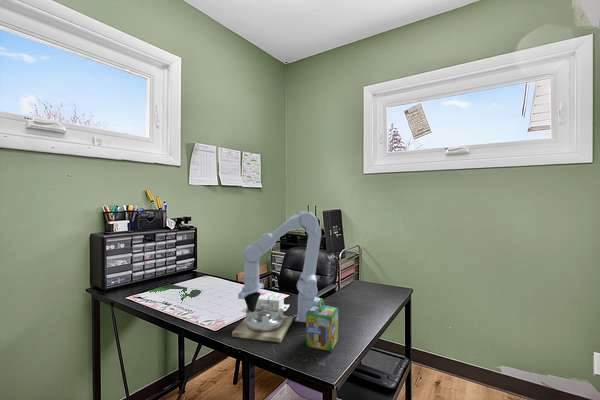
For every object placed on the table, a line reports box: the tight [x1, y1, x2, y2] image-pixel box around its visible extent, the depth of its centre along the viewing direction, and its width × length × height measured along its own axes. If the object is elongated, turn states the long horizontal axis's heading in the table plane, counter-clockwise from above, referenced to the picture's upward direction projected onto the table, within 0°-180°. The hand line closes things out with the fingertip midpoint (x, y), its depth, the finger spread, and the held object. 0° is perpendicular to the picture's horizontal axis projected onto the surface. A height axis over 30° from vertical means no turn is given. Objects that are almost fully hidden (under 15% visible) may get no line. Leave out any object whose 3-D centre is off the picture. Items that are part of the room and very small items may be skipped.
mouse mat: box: [148, 283, 203, 306], centre depth 143 cm, size 27×22×1 cm
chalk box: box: [305, 297, 339, 353], centre depth 97 cm, size 9×9×15 cm
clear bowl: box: [245, 304, 284, 332], centre depth 108 cm, size 14×14×5 cm
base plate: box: [231, 315, 294, 343], centre depth 108 cm, size 18×18×2 cm
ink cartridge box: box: [255, 292, 290, 312], centre depth 128 cm, size 9×5×15 cm
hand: (251, 311), depth 110 cm, fingers closed
